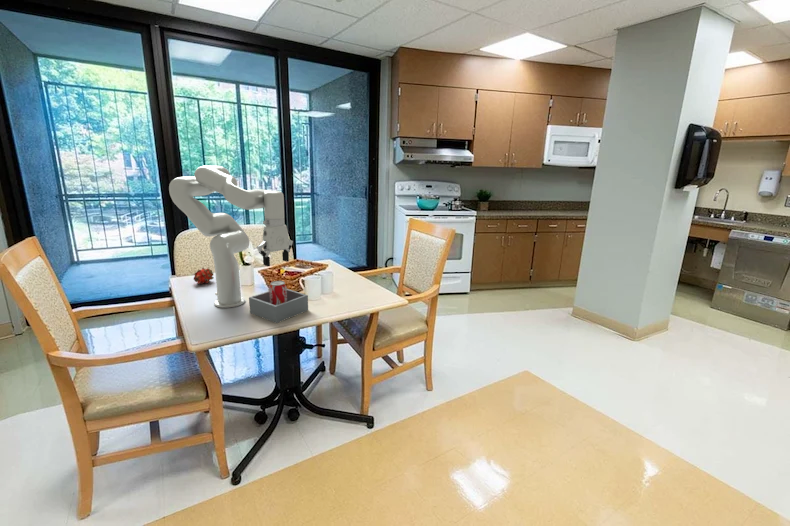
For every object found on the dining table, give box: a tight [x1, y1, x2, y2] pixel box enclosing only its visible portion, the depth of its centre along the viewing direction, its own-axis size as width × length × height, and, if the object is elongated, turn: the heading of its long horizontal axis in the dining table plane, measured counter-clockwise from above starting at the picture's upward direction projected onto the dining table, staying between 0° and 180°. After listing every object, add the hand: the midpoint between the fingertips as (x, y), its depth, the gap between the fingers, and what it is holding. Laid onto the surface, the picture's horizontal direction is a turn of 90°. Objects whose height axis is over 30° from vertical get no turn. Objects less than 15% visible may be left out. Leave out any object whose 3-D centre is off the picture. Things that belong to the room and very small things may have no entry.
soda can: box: [268, 280, 288, 305], centre depth 155 cm, size 7×7×12 cm
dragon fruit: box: [193, 267, 215, 285], centre depth 188 cm, size 8×8×12 cm
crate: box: [248, 288, 309, 324], centre depth 156 cm, size 17×17×7 cm
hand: (276, 263), depth 151 cm, fingers open, 9 cm apart
